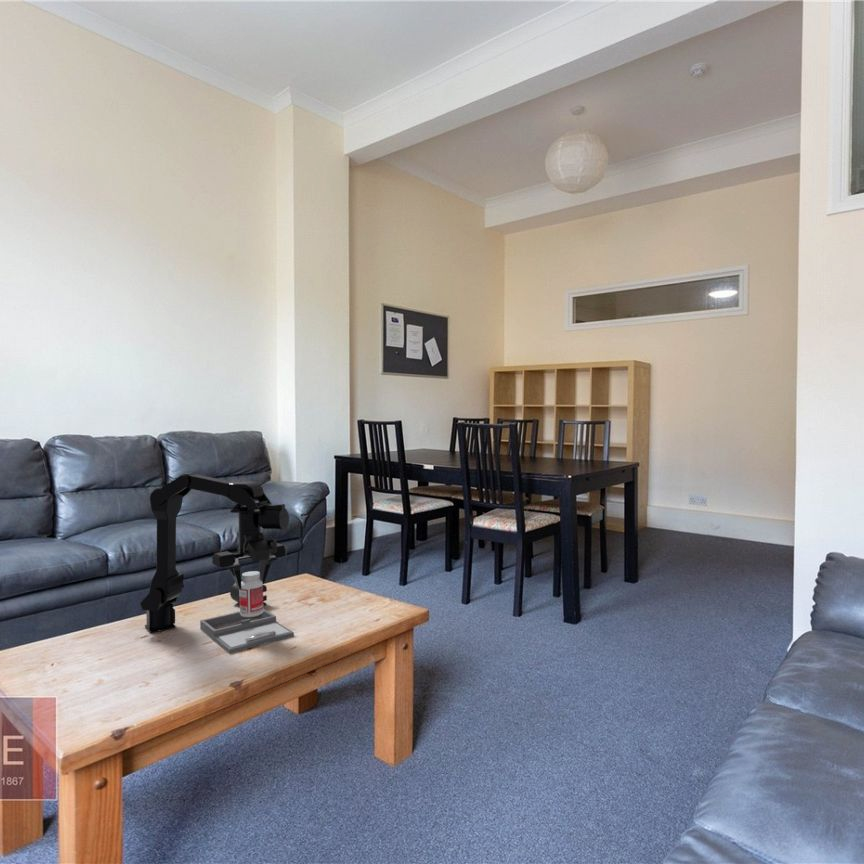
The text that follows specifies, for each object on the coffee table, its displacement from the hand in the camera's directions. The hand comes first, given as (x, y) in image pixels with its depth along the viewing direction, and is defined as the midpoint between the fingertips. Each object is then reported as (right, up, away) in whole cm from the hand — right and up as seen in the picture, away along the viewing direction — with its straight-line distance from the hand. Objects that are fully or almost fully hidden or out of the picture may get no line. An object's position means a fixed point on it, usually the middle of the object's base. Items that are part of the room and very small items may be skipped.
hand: (251, 586), depth 153 cm
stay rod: (+4, -12, -5) cm, 14 cm away
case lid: (+2, -14, -2) cm, 14 cm away
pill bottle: (0, -8, 0) cm, 8 cm away
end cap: (-9, -13, +26) cm, 30 cm away
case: (-6, -13, +6) cm, 16 cm away
